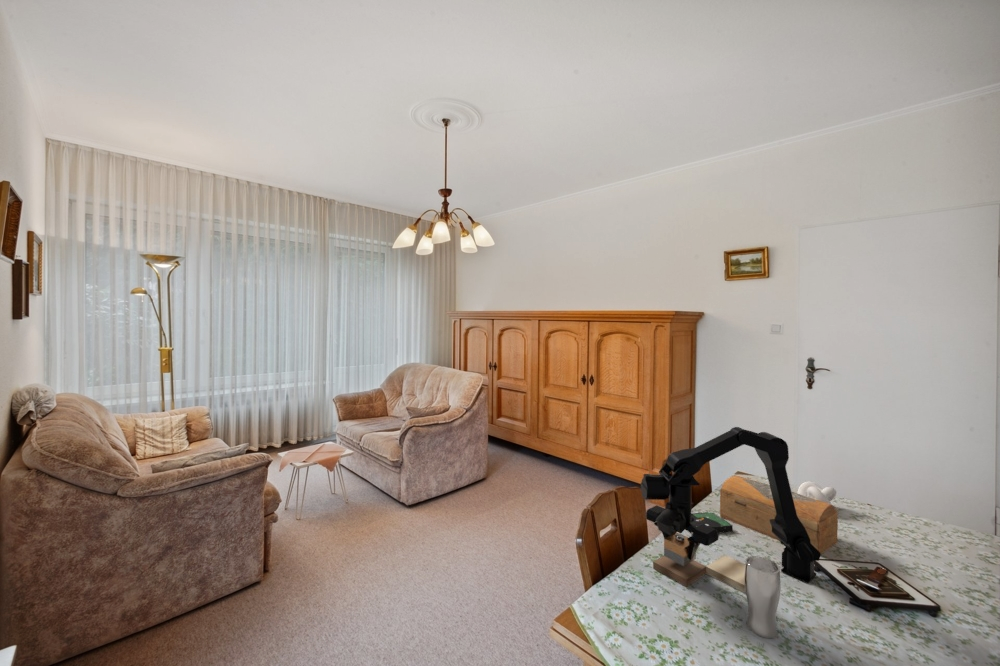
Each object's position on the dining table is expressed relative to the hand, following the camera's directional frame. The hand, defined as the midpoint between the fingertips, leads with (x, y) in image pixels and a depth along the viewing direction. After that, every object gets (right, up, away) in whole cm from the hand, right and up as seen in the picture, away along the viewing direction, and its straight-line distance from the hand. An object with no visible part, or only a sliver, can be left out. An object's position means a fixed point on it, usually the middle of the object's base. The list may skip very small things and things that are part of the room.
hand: (679, 553), depth 114 cm
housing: (0, -1, 0) cm, 1 cm away
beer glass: (+9, -6, -22) cm, 24 cm away
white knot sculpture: (+69, -4, +39) cm, 79 cm away
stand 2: (+14, -5, -2) cm, 15 cm away
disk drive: (+19, -5, +26) cm, 33 cm away
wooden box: (+43, -5, +24) cm, 50 cm away
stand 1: (0, -5, 0) cm, 5 cm away
